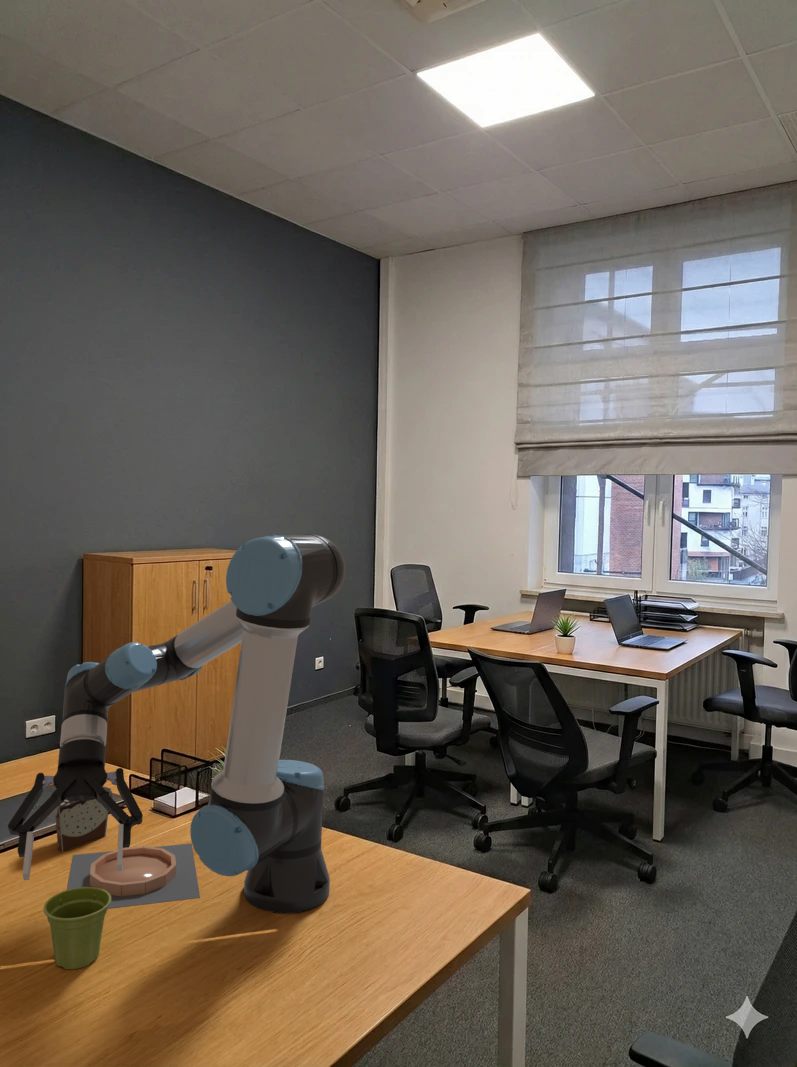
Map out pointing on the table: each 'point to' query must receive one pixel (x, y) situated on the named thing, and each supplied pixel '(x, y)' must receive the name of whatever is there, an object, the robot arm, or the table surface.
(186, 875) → the desk mat
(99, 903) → the plant pot
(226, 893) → the table surface
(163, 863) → the saucer
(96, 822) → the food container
